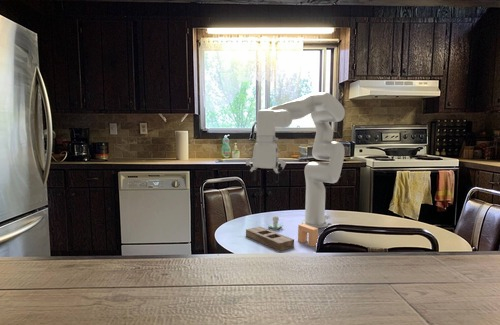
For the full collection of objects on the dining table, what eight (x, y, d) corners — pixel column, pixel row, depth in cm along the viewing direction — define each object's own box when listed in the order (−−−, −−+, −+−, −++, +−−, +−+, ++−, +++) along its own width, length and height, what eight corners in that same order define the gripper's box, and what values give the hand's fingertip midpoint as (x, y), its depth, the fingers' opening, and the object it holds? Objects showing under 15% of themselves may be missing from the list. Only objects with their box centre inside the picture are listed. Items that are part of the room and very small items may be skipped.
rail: (259, 232, 152) (260, 226, 152) (293, 246, 134) (294, 239, 134) (245, 236, 147) (245, 229, 147) (279, 250, 130) (279, 243, 129)
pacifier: (267, 226, 163) (268, 229, 157) (267, 213, 163) (268, 216, 157) (282, 226, 163) (283, 229, 157) (282, 214, 163) (283, 216, 157)
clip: (302, 239, 144) (303, 223, 143) (317, 245, 137) (318, 228, 136) (297, 240, 142) (298, 224, 141) (312, 246, 135) (313, 229, 134)
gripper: (288, 140, 135) (287, 182, 137) (249, 139, 142) (248, 179, 144) (283, 141, 128) (282, 184, 130) (242, 140, 135) (241, 181, 137)
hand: (264, 181), depth 137 cm, fingers open, 9 cm apart
